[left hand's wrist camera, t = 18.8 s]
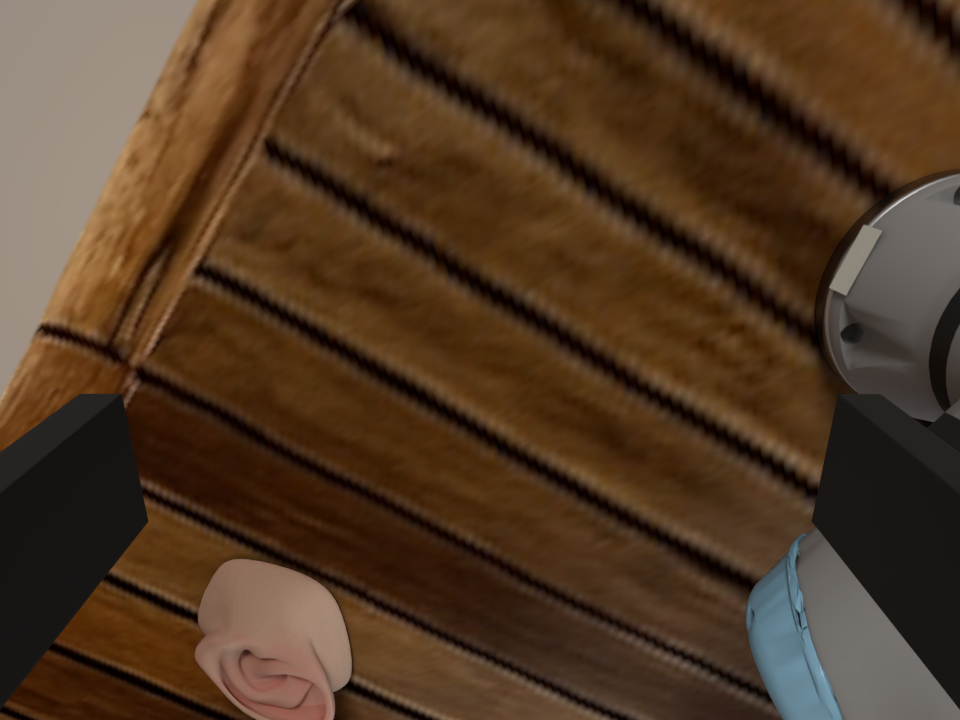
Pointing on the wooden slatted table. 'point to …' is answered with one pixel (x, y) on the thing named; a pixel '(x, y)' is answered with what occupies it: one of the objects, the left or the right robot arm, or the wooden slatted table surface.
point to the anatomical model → (273, 641)
